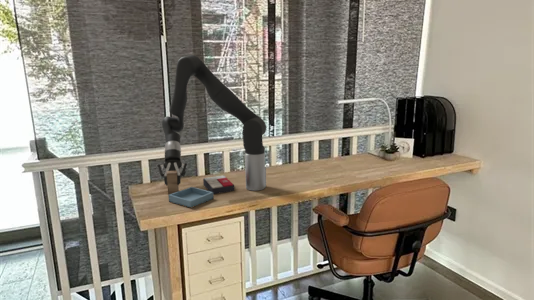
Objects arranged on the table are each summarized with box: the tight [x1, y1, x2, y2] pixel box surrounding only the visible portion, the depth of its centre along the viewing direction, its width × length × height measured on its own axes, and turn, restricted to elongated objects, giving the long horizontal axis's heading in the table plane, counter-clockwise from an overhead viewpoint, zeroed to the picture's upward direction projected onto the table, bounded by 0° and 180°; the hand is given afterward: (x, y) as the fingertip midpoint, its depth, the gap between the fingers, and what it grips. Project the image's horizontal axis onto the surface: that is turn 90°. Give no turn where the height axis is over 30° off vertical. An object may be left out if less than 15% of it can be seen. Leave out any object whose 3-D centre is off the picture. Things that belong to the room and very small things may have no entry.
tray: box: [167, 186, 214, 208], centre depth 173 cm, size 14×14×3 cm
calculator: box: [202, 175, 236, 195], centre depth 189 cm, size 11×4×15 cm
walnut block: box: [166, 170, 180, 195], centre depth 182 cm, size 4×4×10 cm
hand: (172, 184), depth 180 cm, fingers closed on walnut block, 4 cm apart
